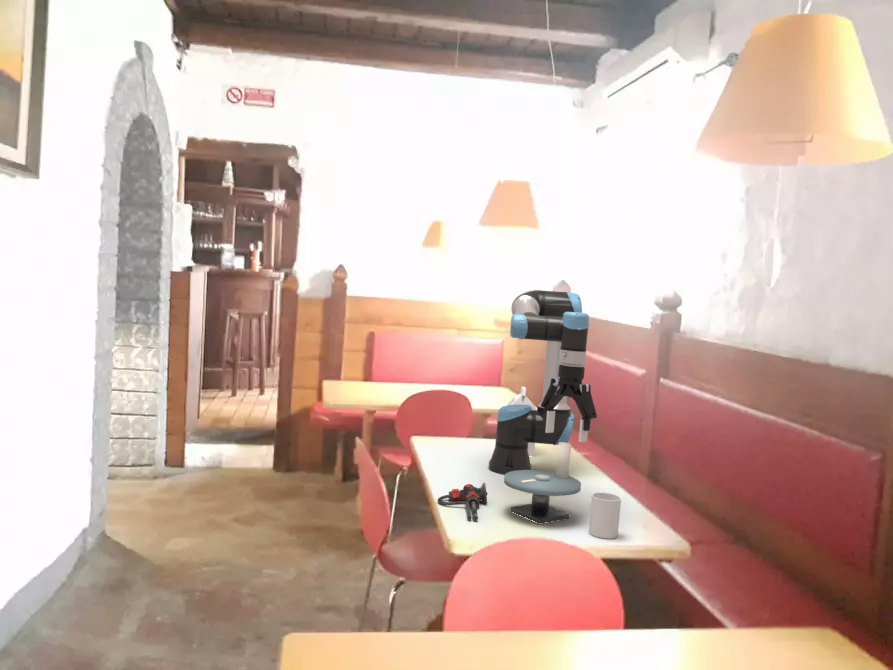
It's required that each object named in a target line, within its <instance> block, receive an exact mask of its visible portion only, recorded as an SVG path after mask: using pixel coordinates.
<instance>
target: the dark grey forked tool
mask: <svg viewBox="0 0 893 670" xmlns="http://www.w3.org/2000/svg"><path fill="white" fill-rule="evenodd" d="M487 496H488V491H487V486H486V482H483V483H482V484H481V487H476V486H474V485H473V484H471V483H468V484H464V486H463V488H462V489H460V490H459V488H453V489H452V490H450V491H448V494H445V495H442V496H439V497H438V499H437V503H438V504H439V505H442V506H458V505H465V506H466V513H467V518H468V520H472V518H473V520H474V521H477V520H478V519H479V514H478V509H477V508H478V507H480V503H481V502H482V503H483V504H484V503H485V504H484V505H488V497H487ZM445 499H448V500H449V501H443V500H445ZM480 501H481V502H480ZM471 511H472V513H471Z"/></svg>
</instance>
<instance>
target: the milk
mask: <svg viewBox="0 0 893 670" xmlns="http://www.w3.org/2000/svg"><path fill="white" fill-rule="evenodd" d="M526 393H527V388H526V386H520V392H519V394H514V396H513V397H511V399H510V401H509V402H508V403H507V405H519V404H521V405H529V406H531V408H532V410H537V408H536V406H535V405H534V403H533V402H532V401H531V400H530V398H529V397H527V395H526ZM535 446H536V443H528V454H529V456H532V457H531V458H535V453H536V451H535V450H536V447H535Z"/></svg>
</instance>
